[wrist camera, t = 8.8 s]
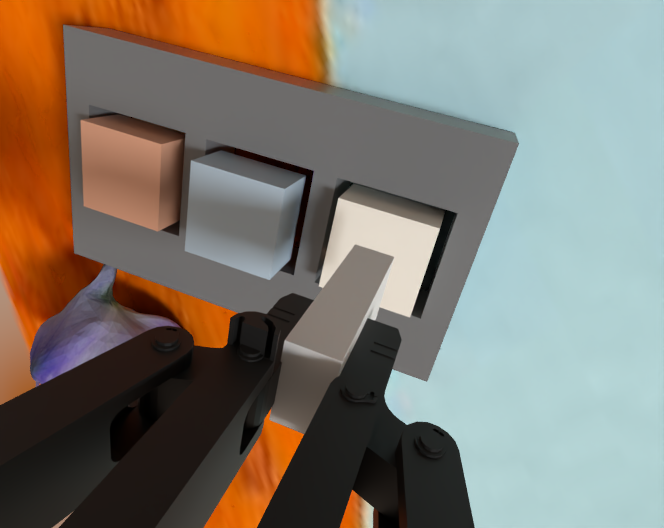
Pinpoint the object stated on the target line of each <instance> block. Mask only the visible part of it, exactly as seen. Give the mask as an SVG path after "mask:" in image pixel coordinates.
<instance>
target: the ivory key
mask: <svg viewBox="0 0 664 528" xmlns="http://www.w3.org/2000/svg"><path fill="white" fill-rule="evenodd" d="M444 213H445V210H441V209H438V208H435V207H431V206H428V205H425V204H421V203H418V202H414V201H411V200H408V199H404V198H401V197H397V196H394V195H391V194H387V193H384V192H381V191H377V190H374V189H370V188H367V187H364V186H360V185H357V184H353V185H352V186H351V187H350V188H349V189H348V190H347V191H345V192H344V193H343V194H342V195H341V196H340V197H339V198H338V202H337V207H336V211H335V216H334V220H333V225H332V229H331V234H330V238H329V243H328V247H327V252H326V256H325V261H324V265H323V269H322V274H321V278H320V283H319V287H322V288H323V287H324V286H325V285H326V283H327V282H328V281H329V279H330V278H331V276H332V275H333V274H334V272H335V271H336V270H337V268H338V267H339V266H340V264H341V263H342V262H343V260H344V259H345V257H346V256H347V255H348V253H349V252H350V251H351V249H352V248H353V247H354V245H355V244H356V245H359V246H362V247H365V248H369V249H372V250H375V251H378V252H381V253H384V254H387V255H390V256H393V257H394V260H393V264H392V267H391V270H390V274H389V277H388V280H387V284H386V287H385V290H384V294H383V297H382V301H381V304H380V308H383V309H386V310H389V311H392V312H395V313H398V314H401V315H404V316H407V317H410V316H411V313H412V310H413V307H414V304H415V301H416V298H417V296H418V293H419V290H420V287H421V284H422V281H423V278H424V275H425V272H426V269H427V266H428V263H429V260H430V257H431V254H432V251H433V248H434V245H435V242H436V239H437V236H438V233H439V230H440V227H441V224H442V220H443V217H444Z"/></svg>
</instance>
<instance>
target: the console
mask: <svg viewBox="0 0 664 528" xmlns="http://www.w3.org/2000/svg"><path fill="white" fill-rule="evenodd" d="M63 34H64V55H65V75H66V96H67V116H68V137H69V157H70V178H71V198H72V219H73V239H74V253H75V254H78V255H81V256H84V257H86V258H89V259H92V260H95V261H97V262H100V263H103V264H106V265H108V266H111V267H114V268H117V269H119V270H122V271H125V272H128V273H130V274H133V275H136V276H139V277H141V278H144V279H147V280H150V281H152V282H155V283H158V284H161V285H163V286H166V287H169V288H171V289H174V290H177V291H180V292H182V293H185V294H188V295H191V296H193V297H196V298H199V299H202V300H204V301H207V302H210V303H213V304H215V305H218V306H221V307H224V308H226V309H229V310H232V311H235V312H237V313H242V312H246V311H256V312H260V313H265V314H267V313H268V312H269V310H270V309H271V308H273V306H274V305H275V304H276V303H277V301H278V300H279V299H280V298H282V297H284V296H286V295H289V294H291V293H295V294H298V295H301V296H304V297H306V298H309V299H312V300H315V298H316V297H317V295H318V294H319V293H320V291H321V290H322V289H323V288H322V287H319V283H320V278H321V274H322V269H323V265H324V261H325V256H326V252H327V247H328V243H329V238H330V234H331V229H332V225H333V220H334V216H335V211H336V207H337V202H338V198H339V197H340V196H341V195H342V194H343V193H344V192H345V191H347V190H348V189H349V186H350V182H354V183H357V184H360V185H364V186H367V187H371V188H374V189H377V190H381V191H384V192H388V193H391V194H394V195H398V196H401V197H405V198H408V199H411V200H415V201H418V202H422V203H425V204H428V205H432V206H435V207H438V208H442V209H445V210H449V211H452V212H455V215H454V218H453V221H452V224H451V227H450V229H449V232H448V235H447V238H446V241H445V244H444V247H443V250H442V252H441V255H440V258H439V261H438V264H437V267H436V270H435V273H434V275H433V278H432V281H431V284H430V287H429V290H428V291H426V290H423V289H420V290H419V293H418V296H417V298H416V301H415V304H414V307H413V310H412V313H411V316H410V317H407V316H404V315H401V314H398V313H395V312H392V311H389V310H386V309H383V308H380V307H379V311H378V314H377V317H376V320H375V321H378V322H380V323H383V324H386V325H389V326H392V327H395V328H397V329H398V330H399V333H400V336H401V339H402V341H401V344H400V347H399V350H398V353H397V356H396V359H395V362H394V365H393V368H392V369H394V370H396V371H399V372H402V373H405V374H407V375H410V376H413V377H416V378H418V379H421V380H424V381H427V380H428V378H429V375H430V373H431V370H432V367H433V365H434V362H435V360H436V357H437V354H438V352H439V349H440V347H441V344H442V342H443V339H444V336H445V334H446V331H447V329H448V326H449V323H450V321H451V318H452V316H453V313H454V310H455V308H456V305H457V303H458V300H459V297H460V295H461V292H462V290H463V287H464V285H465V282H466V279H467V277H468V274H469V272H470V269H471V266H472V264H473V261H474V259H475V256H476V253H477V251H478V248H479V246H480V243H481V240H482V238H483V235H484V233H485V230H486V228H487V225H488V222H489V220H490V217H491V215H492V212H493V209H494V207H495V204H496V202H497V199H498V196H499V194H500V191H501V189H502V186H503V183H504V181H505V178H506V176H507V173H508V171H509V168H510V165H511V163H512V160H513V158H514V155H515V152H516V150H517V147H518V145H519V143H518V140H517V137H516V134H515V133H513V132H509V131H505V130H501V129H497V128H493V127H489V126H486V125H482V124H478V123H474V122H470V121H466V120H462V119H458V118H455V117H451V116H447V115H443V114H439V113H435V112H431V111H427V110H424V109H420V108H416V107H412V106H408V105H404V104H400V103H396V102H393V101H389V100H385V99H381V98H377V97H373V96H369V95H365V94H361V93H358V92H354V91H350V90H346V89H342V88H338V87H334V86H330V85H327V84H323V83H319V82H315V81H311V80H307V79H303V78H299V77H296V76H292V75H288V74H284V73H280V72H276V71H272V70H268V69H265V68H261V67H257V66H253V65H249V64H245V63H241V62H237V61H233V60H230V59H226V58H222V57H218V56H214V55H210V54H206V53H202V52H199V51H195V50H191V49H187V48H183V47H179V46H175V45H171V44H168V43H164V42H160V41H156V40H152V39H148V38H144V37H140V36H137V35H133V34H129V33H125V32H121V31H117V30H113V29H109V28H98V27H86V26H74V25H63ZM117 114H120V115H123V116H126V117H133V118H136V119H140V120H143V121H147V122H150V123H153V124H157V125H160V126H164V127H167V128H170V129H174V130H177V131H181V132H184V133H186V134H185V150H184V165H183V181H182V197H181V213H180V220H179V221H177V222H175V223H174V224H172V225H170V226H168V227H166V228H164V229H162V230H160V231H155V230H152V229H149V228H146V227H143V226H140V225H137V224H134V223H131V222H129V221H126V220H123V219H120V218H117V217H114V216H111V215H108V214H105V213H102V212H99V211H96V210H93V209H90V208H88V207H85V206H84V201H83V174H82V147H81V120H83V119H89V118H96V117H103V116H110V115H117ZM235 148H238V149H242V150H245V151H248V152H252V153H255V154H259V155H262V156H265V157H269V158H272V159H276V160H279V161H282V162H286V163H289V164H293V165H296V166H299V167H303V168H306V169H310V170H313V171H314V174H313V179H312V184H311V189H310V194H309V200H308V205H307V210H306V215H305V220H304V225H303V231H302V236H301V241H300V246H299V249H298V248H295V247H293V249H292V255H291V259H290V260H289V261H288V262H287V263H286V264H285V265H284V266H283V267H282V268H281V269H280V270H279V271H278V272H277V273H276V274H275V275H274V276H273V277H272V278H271V279H270V280H267V279H265V278H262V277H259V276H256V275H253V274H250V273H247V272H244V271H241V270H239V269H236V268H233V267H230V266H227V265H224V264H221V263H218V262H215V261H213V260H210V259H207V258H204V257H201V256H198V255H195V254H192V253H189V252H187V251H185V240H186V226H187V211H188V197H189V183H190V169H191V160H194V159H197V158H200V157H203V156H206V155H209V154H212V153H215V152H218V151H221V150H222V151H225V152H229V153H232V154H234V151H235Z"/></svg>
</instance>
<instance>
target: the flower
mask: <svg viewBox="0 0 664 528" xmlns="http://www.w3.org/2000/svg"><path fill="white" fill-rule="evenodd" d="M116 273H117V268H114V267H111V266H108V265H106V264H104V265H103V267H102V269H101V271H100V273H99V274H98V276H97V277H96V279H95V280H94V281H92V282H91V283H90V284H89V285H88V286H86V287H85V288H83V289H82V290H81V291H80V292H79V293H78V294H77V295H76V296H75V297H74V298H73V299H72V300H71V301H70V302H69V303H68V304H67V306H66V307H65V308H64V309H63V310H62V311H61V312H60V313H59V314H57V315H55V316H53V317H51V318H49V319H48V320H47V321H46V322H44V323H43V324H42V325H41V326H40V328H39V330H38V331H37V333H36V336H35V339H34V342H33V345H32V348H31V352H30V363H31V365H30V371H31V375H32V378H33V379H34V380H35V381H36V387H37V386H39V383H40V384H43V383H45V382H47V381H49V380H51V379H53V378H55V377H57V376H59V375H61V374H63V373H65V372H67V371H69V370H71V369H73V368H75V367H77V366H78V365H80V364H82V363H84V362H86V361H88V360H90V359H92V358H94V357H96V356H98V355H100V354H102V353H104V352H106V351H108V350H110V349H112V348H114V347H116V346H118V345H120V344H122V343H124V342H126V341H128V340H130V339H132V338H134V337H136V336H138V335H140V334H142V333H143V332H145V331H147V330H150V329H153V328H156V327H160V326H174V327H179V328H181V327H180V326H179V325H178V324H176V323H175V322H174V321H172V320H170V319H169V318H166V317H162V316H159V315H151V314H142V313H138V312H136V311H134V310H133V309H131V308H128V307H124V306H122V305H121V304H119V303H118V302H117V301H116V300H115V299H114V297H113V290H112V287H113V284H114V281H115V277H116Z"/></svg>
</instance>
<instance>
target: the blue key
mask: <svg viewBox="0 0 664 528" xmlns="http://www.w3.org/2000/svg"><path fill="white" fill-rule="evenodd" d="M305 180H306V175H303V174H299V173H296V172H293V171H289V170H286V169H282V168H279V167H276V166H272V165H269V164H266V163H262V162H259V161H256V160H252V159H249V158H246V157H242V156H239V155H235V154H232V153H229V152H225V151H222V150H221V151H218V152H215V153H212V154H209V155H206V156H203V157H200V158H197V159H194V160H191V169H190V183H189V197H188V211H187V226H186V240H185V251H187V252H189V253H192V254H195V255H198V256H201V257H204V258H207V259H210V260H213V261H215V262H218V263H221V264H224V265H227V266H230V267H233V268H236V269H239V270H241V271H244V272H247V273H250V274H253V275H256V276H259V277H262V278H265V279H267V280H270V279H271V278H272V277H273V276H274V275H275V274H276V273H277V272H278V271H279V270H280V269H281V268H282V267H283V266H284V265H285V264H286V263H287V262H288V261H289V260H290V259H291V255H292V249H293V244H294V239H295V233H296V228H297V223H298V217H299V212H300V206H301V201H302V196H303V190H304V185H305Z"/></svg>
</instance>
